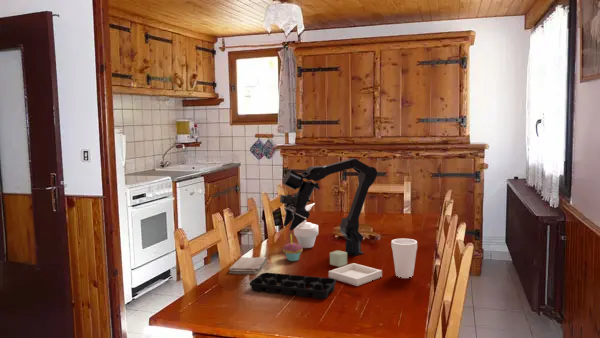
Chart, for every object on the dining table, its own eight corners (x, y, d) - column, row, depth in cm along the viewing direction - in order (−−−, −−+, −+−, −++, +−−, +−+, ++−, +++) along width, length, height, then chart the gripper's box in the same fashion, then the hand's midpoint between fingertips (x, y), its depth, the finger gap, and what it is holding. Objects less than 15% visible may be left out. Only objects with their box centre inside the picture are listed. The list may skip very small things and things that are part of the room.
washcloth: (228, 275, 194) (227, 267, 194) (239, 262, 212) (239, 255, 212) (258, 276, 193) (257, 268, 192) (267, 262, 210) (267, 255, 210)
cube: (338, 262, 207) (338, 250, 207) (347, 264, 203) (347, 252, 203) (329, 264, 204) (329, 252, 203) (338, 267, 200) (338, 254, 200)
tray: (353, 269, 196) (353, 263, 196) (382, 276, 186) (382, 270, 186) (328, 277, 187) (328, 271, 187) (357, 286, 177) (357, 279, 176)
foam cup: (418, 272, 190) (418, 239, 189) (416, 280, 181) (415, 245, 180) (393, 270, 193) (393, 237, 192) (389, 278, 184) (389, 243, 183)
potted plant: (305, 251, 225) (304, 196, 222) (289, 246, 233) (287, 193, 231) (325, 246, 233) (324, 192, 230) (309, 241, 242) (307, 190, 239)
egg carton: (333, 301, 164) (333, 290, 163) (244, 298, 169) (244, 287, 168) (337, 283, 181) (337, 273, 181) (257, 281, 186) (257, 271, 186)
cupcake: (300, 262, 207) (299, 234, 206) (280, 262, 209) (279, 233, 208) (304, 257, 215) (303, 229, 214) (285, 256, 217) (284, 229, 216)
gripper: (281, 183, 215) (265, 216, 214) (293, 188, 198) (276, 224, 197) (303, 194, 219) (287, 227, 218) (317, 200, 201) (300, 235, 200)
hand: (287, 228), depth 208 cm, fingers open, 9 cm apart
